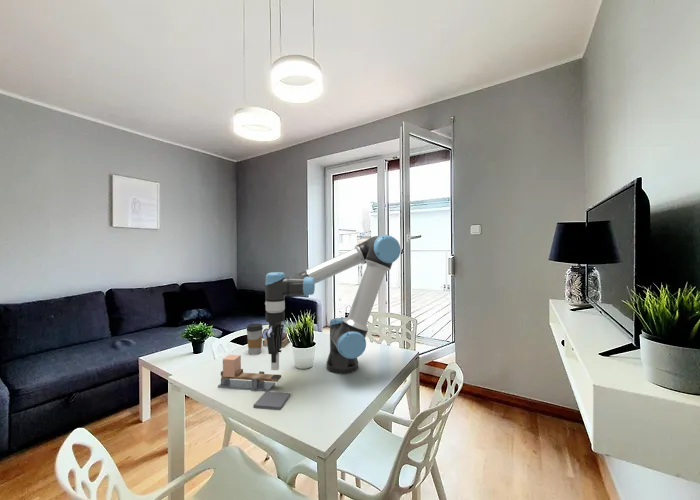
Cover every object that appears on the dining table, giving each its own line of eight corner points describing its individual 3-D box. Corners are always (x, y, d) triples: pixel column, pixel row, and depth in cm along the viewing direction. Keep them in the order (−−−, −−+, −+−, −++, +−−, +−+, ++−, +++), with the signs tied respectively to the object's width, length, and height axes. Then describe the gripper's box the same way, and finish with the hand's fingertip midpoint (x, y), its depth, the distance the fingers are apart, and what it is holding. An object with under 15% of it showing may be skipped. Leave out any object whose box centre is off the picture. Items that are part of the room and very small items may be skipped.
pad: (290, 395, 112) (290, 393, 112) (280, 410, 102) (280, 407, 102) (265, 393, 114) (265, 391, 114) (253, 407, 104) (253, 405, 104)
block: (240, 371, 123) (240, 355, 123) (234, 377, 118) (234, 359, 118) (229, 371, 124) (229, 354, 124) (222, 376, 119) (222, 359, 119)
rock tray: (293, 338, 182) (293, 333, 182) (283, 347, 166) (283, 341, 166) (274, 337, 184) (274, 332, 184) (262, 346, 168) (262, 340, 168)
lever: (281, 377, 121) (281, 370, 121) (276, 382, 116) (276, 376, 116) (227, 373, 124) (227, 367, 124) (219, 379, 119) (219, 372, 119)
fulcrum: (275, 383, 122) (275, 372, 122) (268, 392, 115) (268, 379, 115) (226, 380, 126) (226, 369, 125) (217, 388, 119) (216, 376, 119)
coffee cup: (258, 356, 153) (257, 327, 153) (243, 355, 155) (243, 326, 155) (265, 350, 161) (265, 323, 161) (251, 349, 163) (251, 322, 163)
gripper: (272, 307, 125) (272, 362, 125) (258, 314, 112) (258, 375, 113) (289, 307, 124) (289, 363, 124) (277, 314, 111) (277, 377, 111)
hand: (275, 369), depth 118 cm, fingers closed
